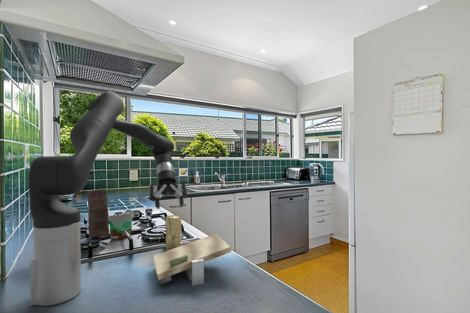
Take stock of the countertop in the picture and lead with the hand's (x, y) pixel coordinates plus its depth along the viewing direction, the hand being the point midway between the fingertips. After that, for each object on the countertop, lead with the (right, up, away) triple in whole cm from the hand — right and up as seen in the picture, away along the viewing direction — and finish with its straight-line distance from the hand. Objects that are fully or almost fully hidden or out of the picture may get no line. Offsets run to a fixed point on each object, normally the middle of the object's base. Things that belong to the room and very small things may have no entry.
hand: (170, 206), depth 98 cm
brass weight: (+4, -14, -9) cm, 17 cm away
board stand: (+12, -14, -25) cm, 31 cm away
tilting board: (+13, -10, -25) cm, 30 cm away
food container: (-20, -14, +7) cm, 26 cm away
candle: (-31, -14, +7) cm, 35 cm away
